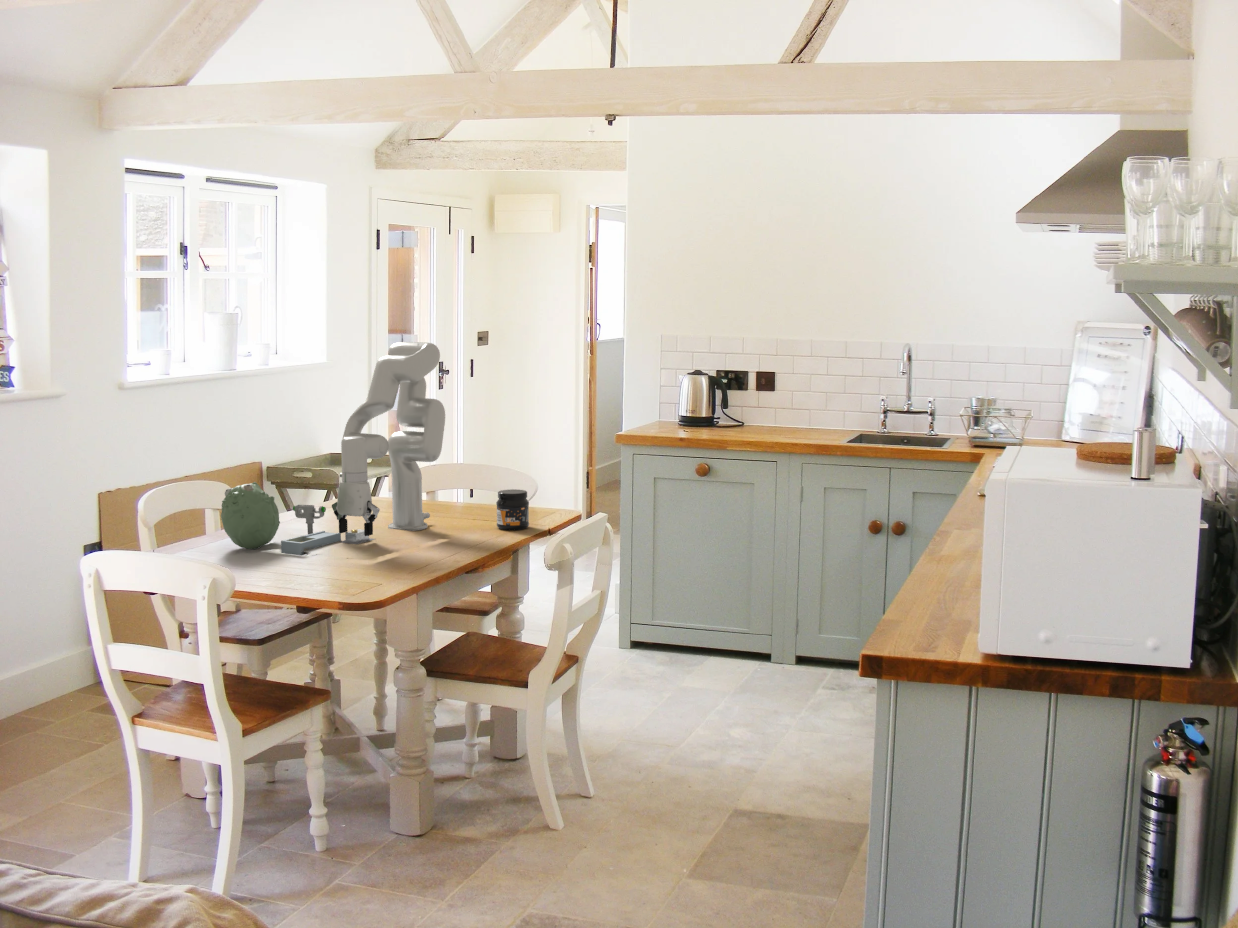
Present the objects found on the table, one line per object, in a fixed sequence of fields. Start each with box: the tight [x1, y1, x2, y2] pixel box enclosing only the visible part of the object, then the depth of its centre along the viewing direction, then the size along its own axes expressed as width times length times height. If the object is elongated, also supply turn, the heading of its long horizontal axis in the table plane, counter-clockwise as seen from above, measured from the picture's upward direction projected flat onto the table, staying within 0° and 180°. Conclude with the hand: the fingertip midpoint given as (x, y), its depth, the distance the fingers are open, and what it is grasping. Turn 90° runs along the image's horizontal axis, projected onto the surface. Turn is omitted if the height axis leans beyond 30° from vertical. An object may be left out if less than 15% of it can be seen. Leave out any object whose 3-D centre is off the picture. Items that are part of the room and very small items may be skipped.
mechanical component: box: [292, 504, 327, 535], centre depth 372 cm, size 3×10×10 cm, turn 78°
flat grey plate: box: [339, 537, 375, 545], centre depth 362 cm, size 9×7×1 cm
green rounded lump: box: [220, 481, 281, 550], centre depth 354 cm, size 16×19×20 cm
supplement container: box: [496, 488, 530, 531], centre depth 388 cm, size 10×10×12 cm
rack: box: [280, 530, 342, 556], centre depth 356 cm, size 18×8×4 cm, turn 153°
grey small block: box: [344, 528, 370, 543], centre depth 362 cm, size 6×4×3 cm, turn 153°
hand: (355, 533), depth 361 cm, fingers open, 9 cm apart
